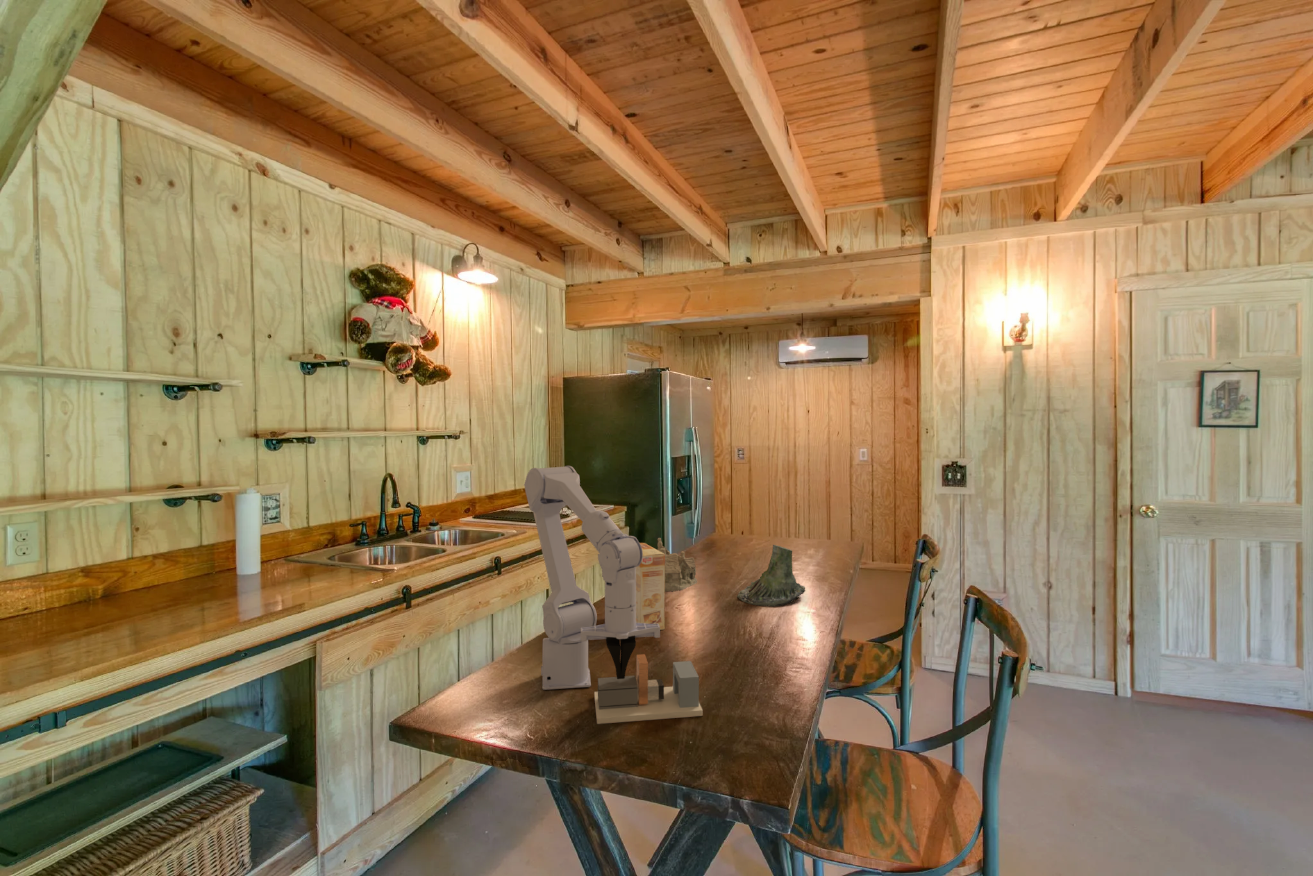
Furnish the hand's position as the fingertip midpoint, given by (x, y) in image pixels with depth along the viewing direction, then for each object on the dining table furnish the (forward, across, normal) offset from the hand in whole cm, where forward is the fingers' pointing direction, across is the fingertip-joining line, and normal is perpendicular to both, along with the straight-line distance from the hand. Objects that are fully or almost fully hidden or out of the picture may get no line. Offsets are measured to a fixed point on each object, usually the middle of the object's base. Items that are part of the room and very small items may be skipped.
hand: (620, 676), depth 108 cm
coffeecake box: (+6, +10, +45) cm, 47 cm away
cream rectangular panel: (+6, +5, 0) cm, 8 cm away
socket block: (+5, +12, 0) cm, 13 cm away
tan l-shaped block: (+4, +2, 0) cm, 5 cm away
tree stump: (+6, +51, +61) cm, 80 cm away
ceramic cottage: (+6, +25, +79) cm, 83 cm away
